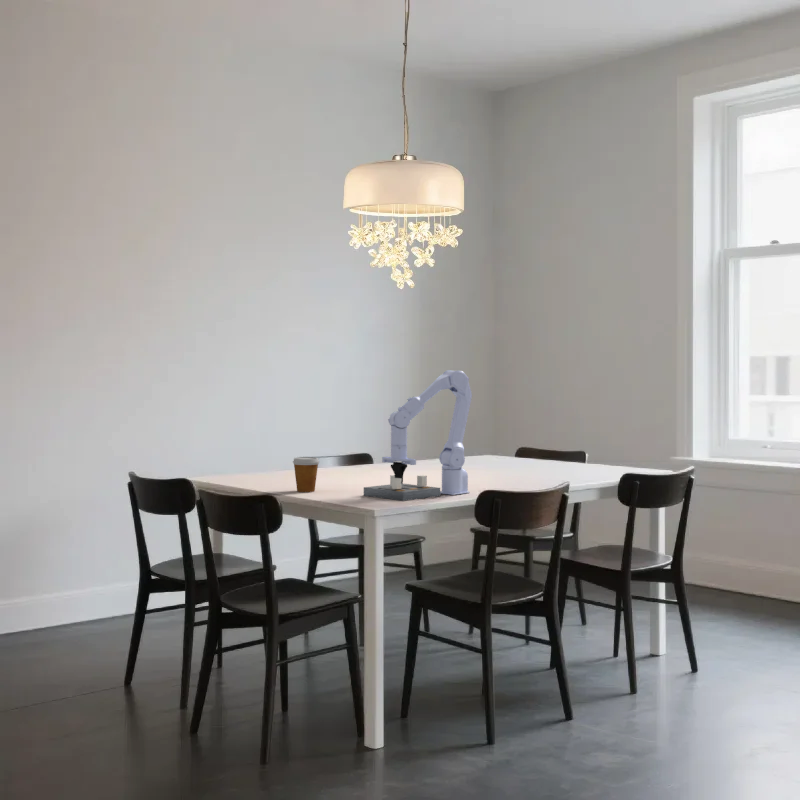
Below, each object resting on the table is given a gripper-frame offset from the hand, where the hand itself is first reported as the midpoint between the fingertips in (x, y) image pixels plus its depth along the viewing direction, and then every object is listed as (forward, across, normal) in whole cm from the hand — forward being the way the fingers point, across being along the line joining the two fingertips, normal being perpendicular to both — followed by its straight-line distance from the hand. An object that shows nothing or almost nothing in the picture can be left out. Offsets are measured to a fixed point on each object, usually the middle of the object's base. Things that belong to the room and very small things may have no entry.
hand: (398, 484), depth 365 cm
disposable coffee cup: (+4, -31, -16) cm, 35 cm away
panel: (+4, +2, 0) cm, 4 cm away
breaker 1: (+1, +5, -6) cm, 8 cm away
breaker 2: (+1, +5, +6) cm, 8 cm away
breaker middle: (+1, -2, 0) cm, 2 cm away
